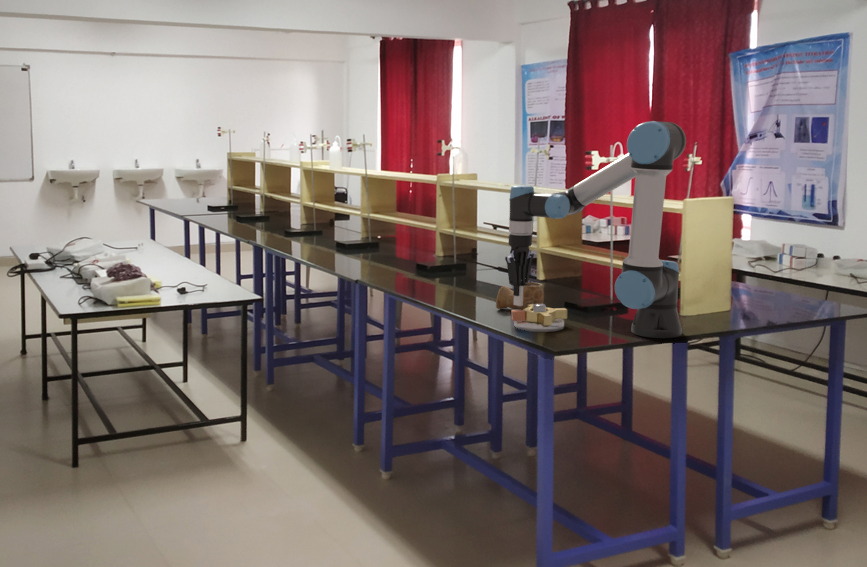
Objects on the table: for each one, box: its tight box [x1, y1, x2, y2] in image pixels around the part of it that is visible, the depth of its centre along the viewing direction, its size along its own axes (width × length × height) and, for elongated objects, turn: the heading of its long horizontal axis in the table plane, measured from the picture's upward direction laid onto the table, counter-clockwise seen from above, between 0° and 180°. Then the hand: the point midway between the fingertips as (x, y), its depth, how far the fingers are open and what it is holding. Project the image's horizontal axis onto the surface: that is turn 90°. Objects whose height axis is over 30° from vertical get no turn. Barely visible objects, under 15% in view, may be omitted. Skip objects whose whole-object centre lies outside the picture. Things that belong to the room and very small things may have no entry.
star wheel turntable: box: [513, 303, 565, 333], centre depth 273 cm, size 16×16×7 cm
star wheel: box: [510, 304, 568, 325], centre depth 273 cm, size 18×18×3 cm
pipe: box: [495, 281, 545, 310], centre depth 296 cm, size 9×16×10 cm, turn 69°
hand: (518, 305), depth 278 cm, fingers closed
